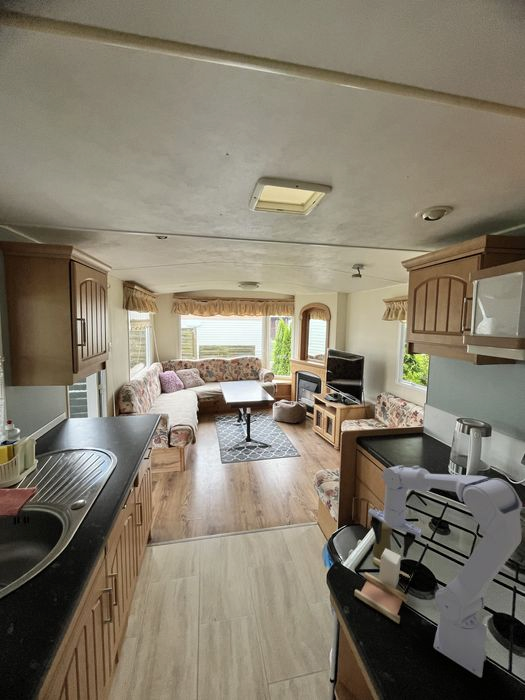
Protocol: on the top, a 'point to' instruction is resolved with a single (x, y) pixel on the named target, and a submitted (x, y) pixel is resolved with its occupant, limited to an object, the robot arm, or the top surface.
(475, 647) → the robot arm
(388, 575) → the peg
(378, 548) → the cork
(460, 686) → the top surface
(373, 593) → the tray
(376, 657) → the top surface
